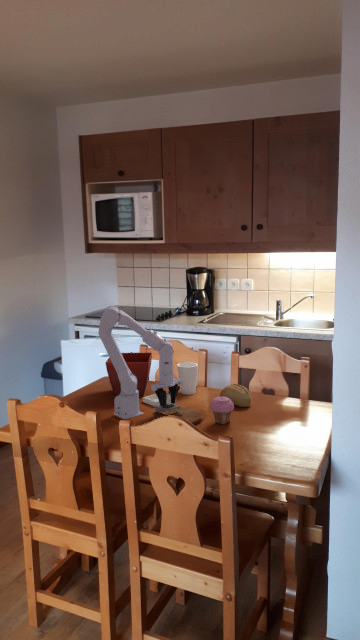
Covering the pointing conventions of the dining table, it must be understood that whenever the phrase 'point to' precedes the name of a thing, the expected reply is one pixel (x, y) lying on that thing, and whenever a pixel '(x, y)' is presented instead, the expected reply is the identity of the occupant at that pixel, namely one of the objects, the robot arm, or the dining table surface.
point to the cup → (162, 409)
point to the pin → (168, 400)
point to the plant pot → (138, 368)
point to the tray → (151, 400)
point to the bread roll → (237, 395)
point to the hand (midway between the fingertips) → (167, 404)
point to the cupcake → (222, 409)
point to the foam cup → (187, 377)
